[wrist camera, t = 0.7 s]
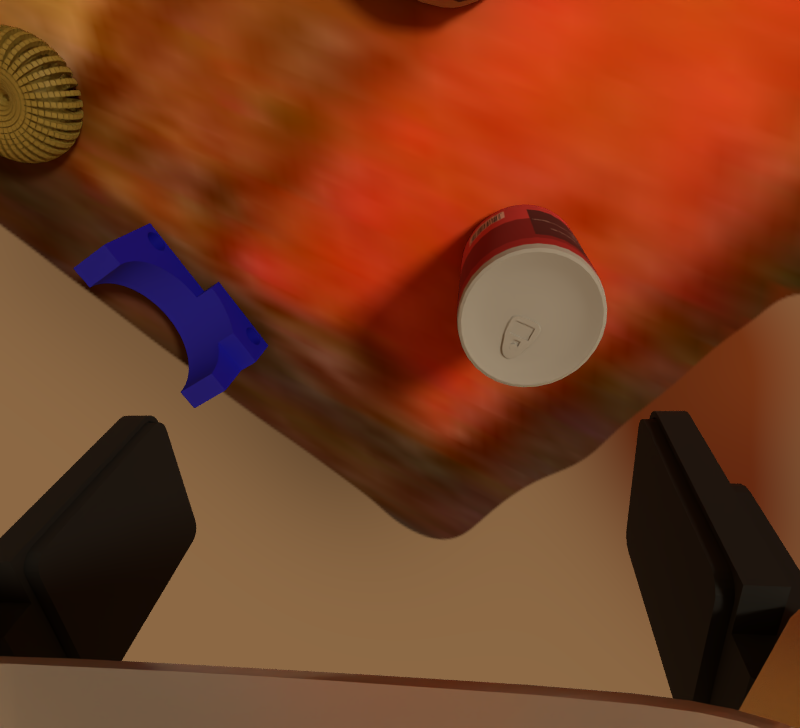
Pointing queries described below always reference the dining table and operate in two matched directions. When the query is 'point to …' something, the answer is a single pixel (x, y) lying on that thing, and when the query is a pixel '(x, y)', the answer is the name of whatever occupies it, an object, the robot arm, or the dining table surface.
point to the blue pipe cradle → (181, 308)
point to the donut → (448, 3)
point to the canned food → (528, 298)
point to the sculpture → (35, 99)
